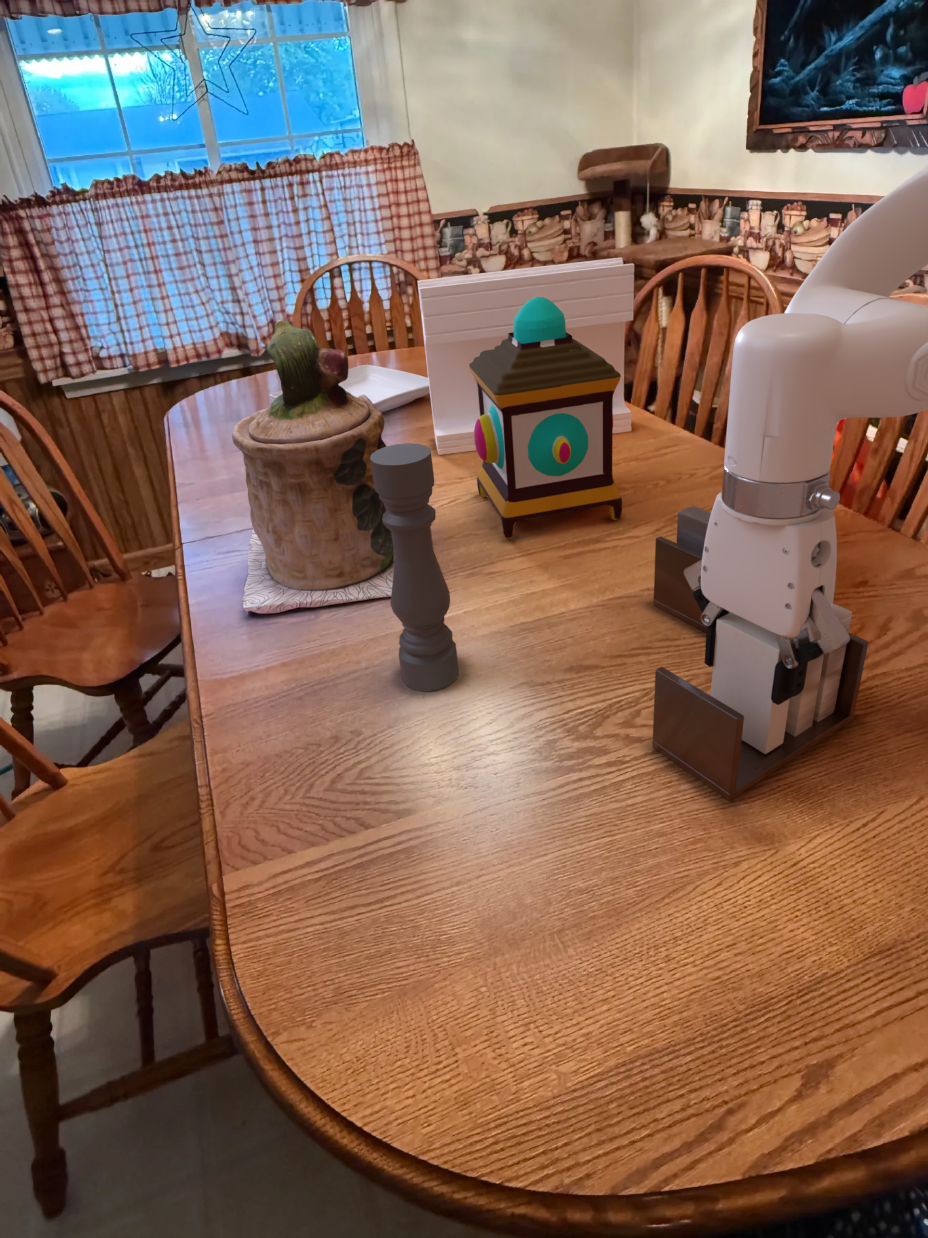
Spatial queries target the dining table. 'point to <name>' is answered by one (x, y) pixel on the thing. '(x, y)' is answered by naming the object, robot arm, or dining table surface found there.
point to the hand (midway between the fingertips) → (751, 676)
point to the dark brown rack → (713, 731)
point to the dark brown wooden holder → (680, 566)
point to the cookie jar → (313, 485)
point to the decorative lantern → (544, 421)
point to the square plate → (383, 386)
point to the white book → (749, 679)
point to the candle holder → (415, 566)
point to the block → (484, 315)
